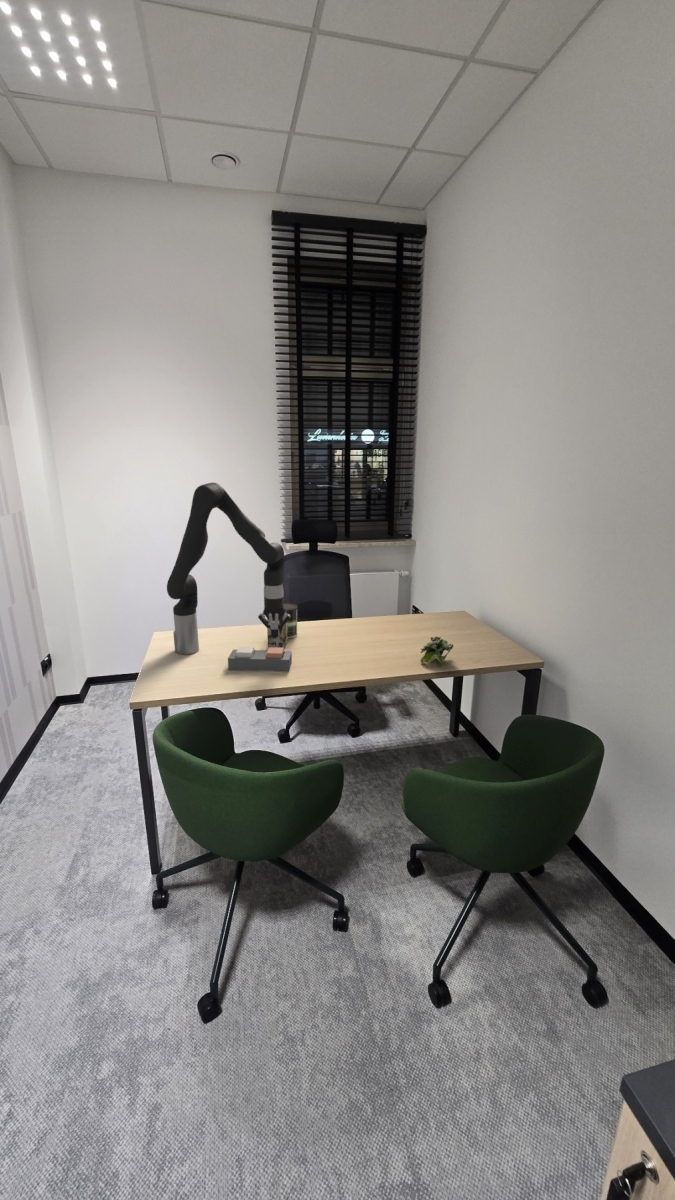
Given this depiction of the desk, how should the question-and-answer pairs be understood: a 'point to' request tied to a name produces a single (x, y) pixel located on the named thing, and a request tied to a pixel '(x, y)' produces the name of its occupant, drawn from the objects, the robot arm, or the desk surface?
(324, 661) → the desk surface
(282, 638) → the coffee box
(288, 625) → the coffee can
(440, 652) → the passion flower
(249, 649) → the offwhite key
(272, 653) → the terracotta key
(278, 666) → the key console
